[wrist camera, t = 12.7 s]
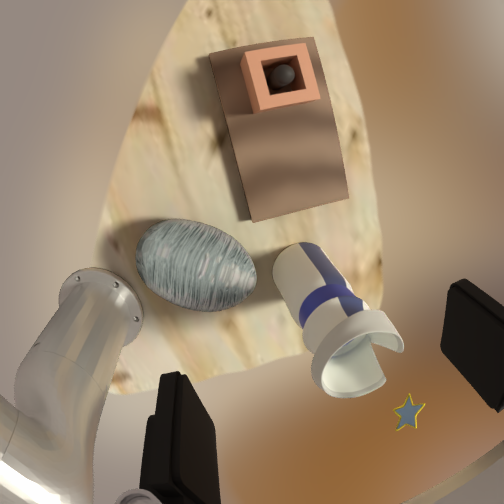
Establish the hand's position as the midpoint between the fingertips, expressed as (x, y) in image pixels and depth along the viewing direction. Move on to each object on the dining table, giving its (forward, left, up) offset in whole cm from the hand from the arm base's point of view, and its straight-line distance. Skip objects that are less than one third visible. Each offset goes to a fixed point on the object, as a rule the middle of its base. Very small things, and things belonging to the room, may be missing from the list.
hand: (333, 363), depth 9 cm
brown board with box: (+9, +2, -28) cm, 30 cm away
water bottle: (-2, -12, -28) cm, 31 cm away
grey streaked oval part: (-9, 0, -29) cm, 30 cm away
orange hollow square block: (+12, +6, -27) cm, 30 cm away
